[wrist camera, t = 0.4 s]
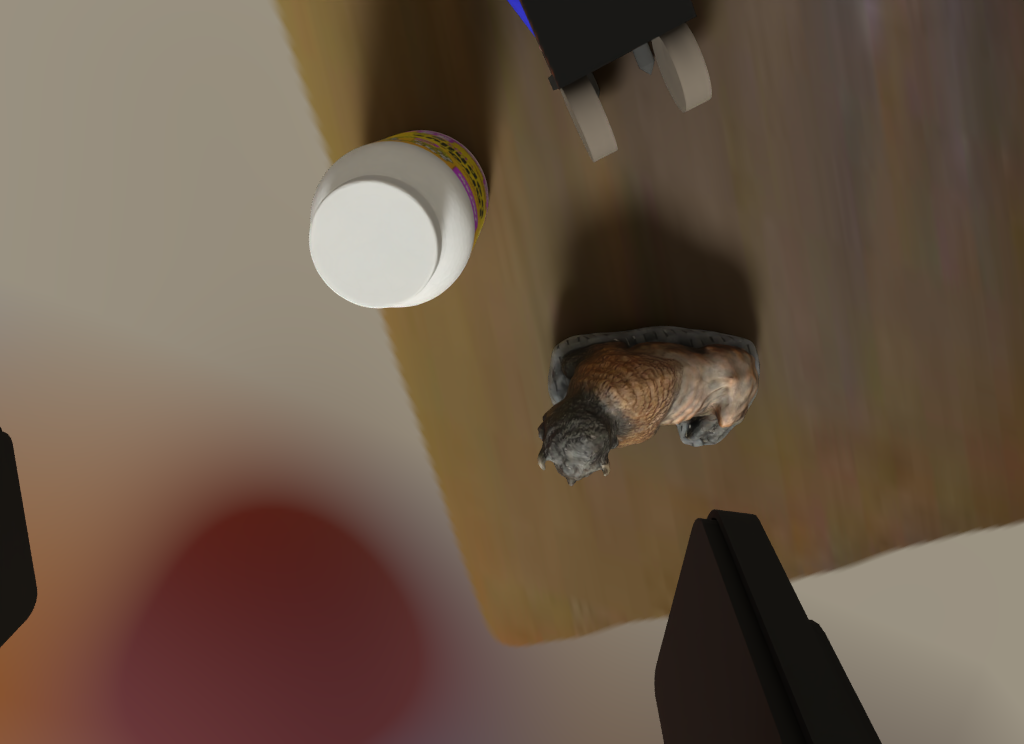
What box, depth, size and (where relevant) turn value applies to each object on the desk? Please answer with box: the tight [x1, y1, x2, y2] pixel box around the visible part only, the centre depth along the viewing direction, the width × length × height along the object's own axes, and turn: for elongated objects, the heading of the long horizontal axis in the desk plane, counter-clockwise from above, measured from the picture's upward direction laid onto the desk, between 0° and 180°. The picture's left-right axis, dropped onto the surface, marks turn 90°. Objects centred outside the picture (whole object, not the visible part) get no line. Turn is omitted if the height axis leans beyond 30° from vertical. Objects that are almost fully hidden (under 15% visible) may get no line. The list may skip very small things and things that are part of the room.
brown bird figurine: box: [538, 326, 760, 486], centre depth 36 cm, size 12×7×10 cm, turn 94°
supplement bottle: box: [309, 130, 489, 308], centre depth 31 cm, size 7×7×13 cm
